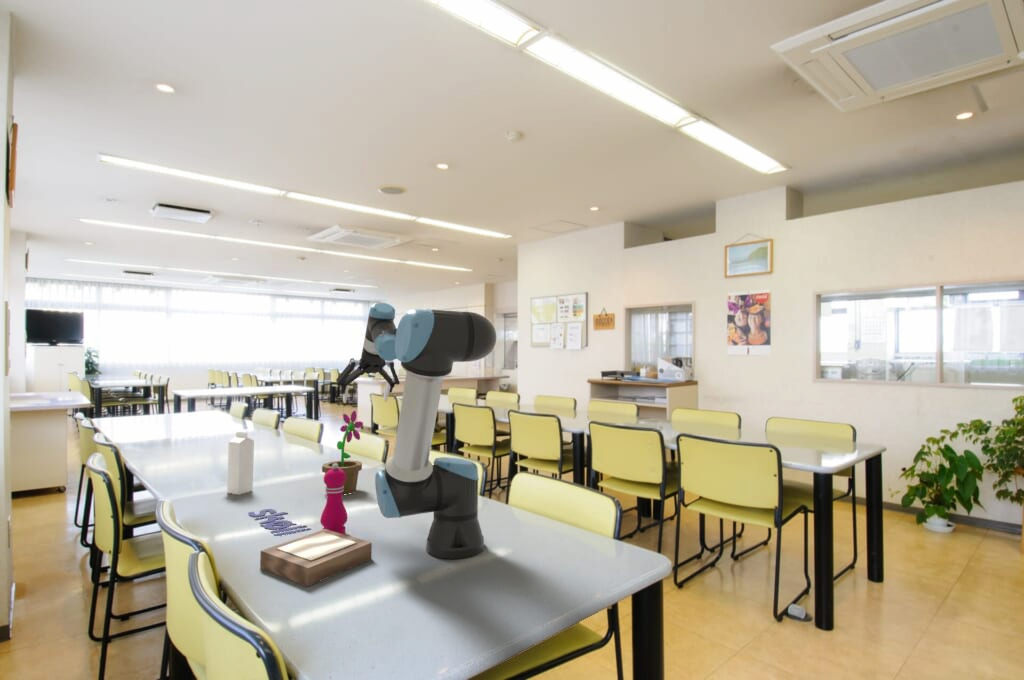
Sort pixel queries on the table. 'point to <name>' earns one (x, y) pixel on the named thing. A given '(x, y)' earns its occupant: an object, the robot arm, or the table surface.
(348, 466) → the flowerpot
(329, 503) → the pepper mill
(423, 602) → the table surface
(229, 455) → the milk
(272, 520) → the signage
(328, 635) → the table surface
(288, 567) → the walnut stand
